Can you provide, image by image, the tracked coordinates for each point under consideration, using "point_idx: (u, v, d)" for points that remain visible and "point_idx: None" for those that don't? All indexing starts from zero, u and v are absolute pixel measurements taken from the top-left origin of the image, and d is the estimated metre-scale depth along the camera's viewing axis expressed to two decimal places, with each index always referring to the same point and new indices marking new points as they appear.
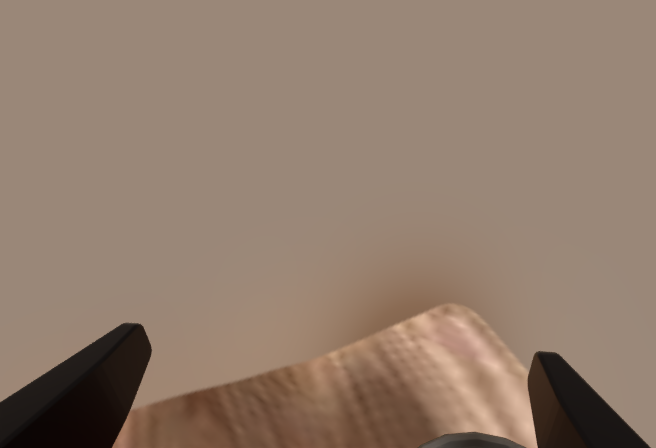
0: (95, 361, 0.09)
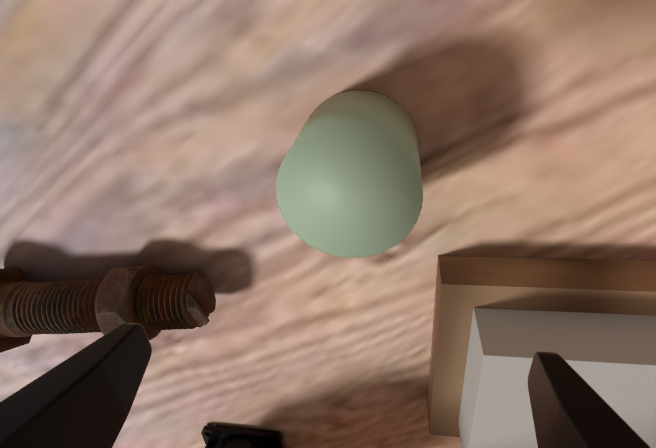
0: (95, 361, 0.09)
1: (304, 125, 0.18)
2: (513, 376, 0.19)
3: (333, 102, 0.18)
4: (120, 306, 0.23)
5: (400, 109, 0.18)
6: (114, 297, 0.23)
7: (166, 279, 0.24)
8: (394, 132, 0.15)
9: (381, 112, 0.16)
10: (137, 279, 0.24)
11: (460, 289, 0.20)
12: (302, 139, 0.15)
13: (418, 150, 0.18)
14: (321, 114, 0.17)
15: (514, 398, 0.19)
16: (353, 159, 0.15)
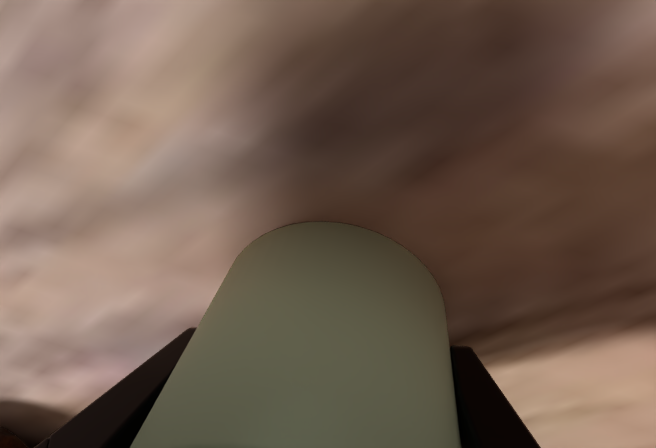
0: (170, 367, 0.08)
1: (211, 304, 0.09)
2: None
3: (268, 266, 0.08)
4: None
5: (413, 268, 0.09)
6: None
7: None
8: (402, 417, 0.06)
9: (371, 317, 0.07)
10: None
11: None
12: None
13: (451, 366, 0.08)
14: (232, 315, 0.07)
15: None
16: None
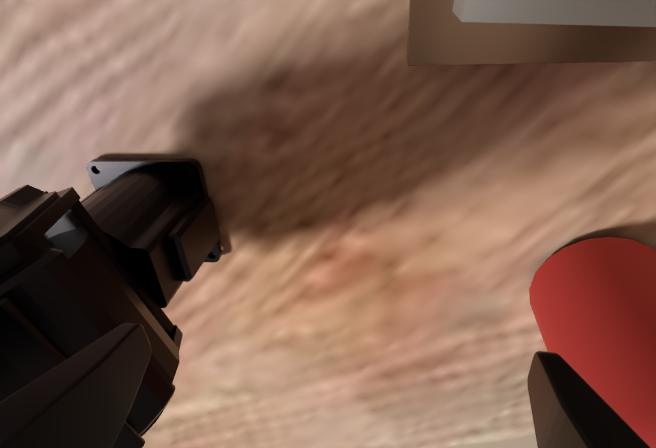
0: (95, 361, 0.09)
1: None
2: None
3: None
4: None
5: None
6: None
7: None
8: None
9: None
10: None
11: None
12: None
13: None
14: None
15: None
16: None
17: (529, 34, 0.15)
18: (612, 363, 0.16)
